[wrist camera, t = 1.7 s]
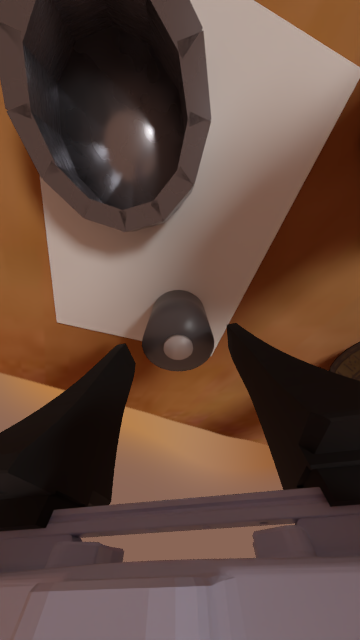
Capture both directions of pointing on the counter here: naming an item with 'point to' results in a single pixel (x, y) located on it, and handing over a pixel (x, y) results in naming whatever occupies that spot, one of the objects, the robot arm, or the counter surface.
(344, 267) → the counter surface
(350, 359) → the brown tall rounded block
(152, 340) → the cap
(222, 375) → the counter surface
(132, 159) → the grey bowl
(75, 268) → the mat
